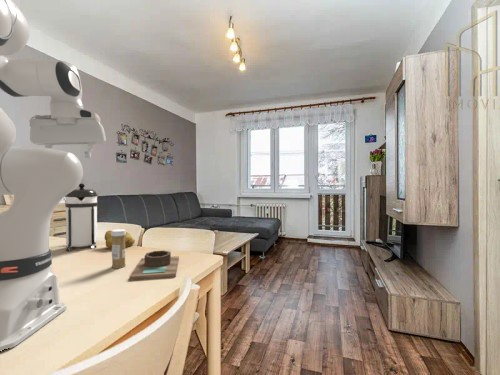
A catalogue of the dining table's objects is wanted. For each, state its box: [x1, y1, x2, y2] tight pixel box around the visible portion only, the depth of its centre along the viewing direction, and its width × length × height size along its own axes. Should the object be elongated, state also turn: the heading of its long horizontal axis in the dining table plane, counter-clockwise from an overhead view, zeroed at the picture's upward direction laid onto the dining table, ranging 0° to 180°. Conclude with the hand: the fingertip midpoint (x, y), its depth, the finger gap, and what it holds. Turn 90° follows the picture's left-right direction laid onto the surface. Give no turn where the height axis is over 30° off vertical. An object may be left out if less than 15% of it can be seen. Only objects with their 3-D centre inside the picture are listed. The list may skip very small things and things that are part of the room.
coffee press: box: [64, 183, 99, 252], centre depth 117 cm, size 17×16×30 cm
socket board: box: [129, 250, 180, 281], centre depth 89 cm, size 19×14×5 cm
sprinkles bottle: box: [111, 228, 127, 269], centre depth 91 cm, size 5×5×14 cm
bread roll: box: [104, 230, 136, 250], centre depth 118 cm, size 13×10×8 cm
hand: (71, 157), depth 81 cm, fingers open, 8 cm apart
